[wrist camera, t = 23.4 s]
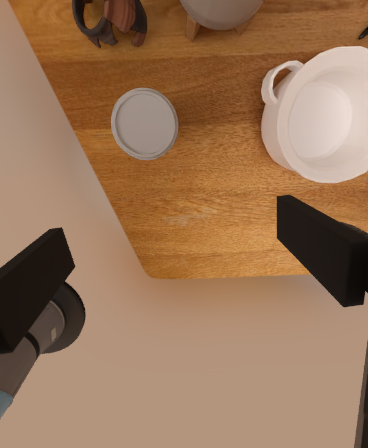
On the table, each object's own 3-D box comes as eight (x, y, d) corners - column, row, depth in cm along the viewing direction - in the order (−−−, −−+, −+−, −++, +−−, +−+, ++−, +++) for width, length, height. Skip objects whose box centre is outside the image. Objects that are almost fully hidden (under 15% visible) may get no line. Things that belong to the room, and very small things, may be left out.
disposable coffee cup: (116, 136, 46) (97, 138, 34) (140, 86, 43) (128, 70, 32) (161, 163, 48) (157, 173, 36) (187, 117, 45) (191, 112, 34)
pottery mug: (137, 68, 42) (100, 54, 35) (101, 40, 44) (59, 21, 37) (170, -16, 36) (134, -53, 29) (126, -45, 38) (82, -86, 31)
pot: (223, 129, 46) (239, 129, 34) (284, 36, 41) (327, -1, 30) (309, 192, 51) (348, 210, 39) (373, 115, 46) (439, 110, 34)
